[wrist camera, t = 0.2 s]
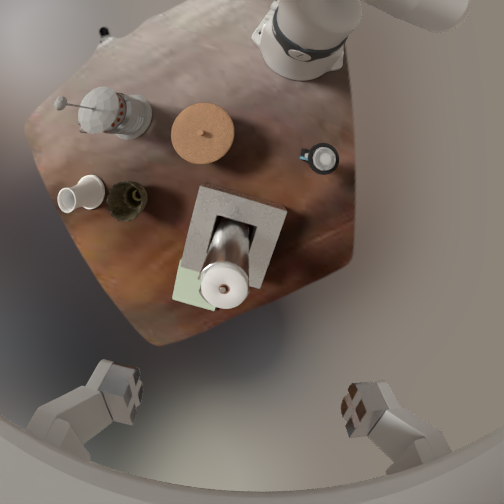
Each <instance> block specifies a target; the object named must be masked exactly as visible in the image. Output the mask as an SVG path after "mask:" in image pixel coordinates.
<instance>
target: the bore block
mask: <svg viewBox="0 0 504 504" xmlns="http://www.w3.org/2000/svg"><path fill="white" fill-rule="evenodd" d="M286 214H287V210H286V209H285V207H284V206H283V205H281V204H278V203H275V202H272V201H268V200H265V199H262V198H259V197H255V196H252V195H249V194H245V193H242V192H239V191H235V190H232V189H228V188H225V187H221V186H218V185H214V184H210V183H207V182H205V183H203V184H202V185H201V186H200V188H199V192H198V196H197V199H196V203H195V207H194V211H193V215H192V219H191V223H190V227H189V231H188V235H187V239H186V244H185V248H184V252H183V257H182V261H181V266H180V267H183V268H187V269H190V270H194V271H197V272H200V271H201V269H202V266H203V263H204V261H205V258H206V255H207V253H208V250H209V247H210V245H211V243H210V242H211V238H212V234H213V231H214V227H215V224H216V220H217V216H218V215H220V216H223V217H227V218H230V219H234V220H237V221H240V222H244V223H247V224H251V225H254V228H253V231H252V234H251V237H250V241H249V286H251V287H255V288H259V289H260V287H261V284H262V281H263V279H264V276H265V273H266V270H267V268H268V265H269V262H270V259H271V256H272V254H273V251H274V248H275V245H276V242H277V240H278V237H279V234H280V231H281V228H282V225H283V223H284V220H285V217H286Z"/></svg>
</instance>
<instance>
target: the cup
mask: <svg viewBox="0 0 504 504" xmlns="http://www.w3.org/2000/svg"><path fill="white" fill-rule="evenodd" d="M112 187H113V188H112V189H110V190H109V192H111V193H109V195H108V196H107V198H108V199H107V201H106V203H107V204H109V207H108V210H111V216H112V217H114V218H117V220H118V221H121V220H127V222H128V221H130V220H133V219H135V218H136V217H137V216H138V214H139V213H140V212H141V211H142V210H143V209H144V207H145V205H146V203H147V193H146V190H145V188H144V187H143V186H142V185H141V184H139V183H137V182H131V181H128V182H119V183H117V184H114V185H113V186H112ZM137 191H139V193H140V195H141V198H140V199H138V198H136V196H135V193H136V192H137Z"/></svg>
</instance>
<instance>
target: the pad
mask: <svg viewBox="0 0 504 504" xmlns="http://www.w3.org/2000/svg"><path fill="white" fill-rule="evenodd" d="M181 261H182V258H181V259H180V263H179V268H178V272H177V277H176V282H175V287H174V292H173V297H172V299H174V300H177V301H180V302H184V303H187V304H191V305H194V306H198V307H201V308H205V309H209V310H212V311H215V307H214V306H213V305H211V304H209V303H208V302H206V301H205V300H204V299H203V298H202V296H201V295H200V293H199V289H200V286H201V283H202V280H203V276H202V278H201V280H198V277H199V274H200V272H197V271H194V270H190V269H187V268H183V267H180V266H181Z"/></svg>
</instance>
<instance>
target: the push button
mask: <svg viewBox="0 0 504 504" xmlns="http://www.w3.org/2000/svg"><path fill="white" fill-rule="evenodd" d="M319 147H322V148H319ZM317 148H319V149H317ZM300 159H302V160H307V161H306V162H307V163H309V166H310V167H311V169H312V170H313V171H315V172H316V173H318V174H322V175H327V174H330V173H332V172H333V171H334V170H335V169H336V168H337V166H338V163H339V156H338V153H337V151H336V149H335V148H334V147H333V146H331V145H329V144H326V143H319V144H316V145H315V146H313V147H312V148H311V149H310V150H308V149H302V151H301V155H300ZM314 166H315V167H317V168H318V169H320V170H318V169H316V168H315V167H314ZM321 170H323V171H321Z"/></svg>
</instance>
